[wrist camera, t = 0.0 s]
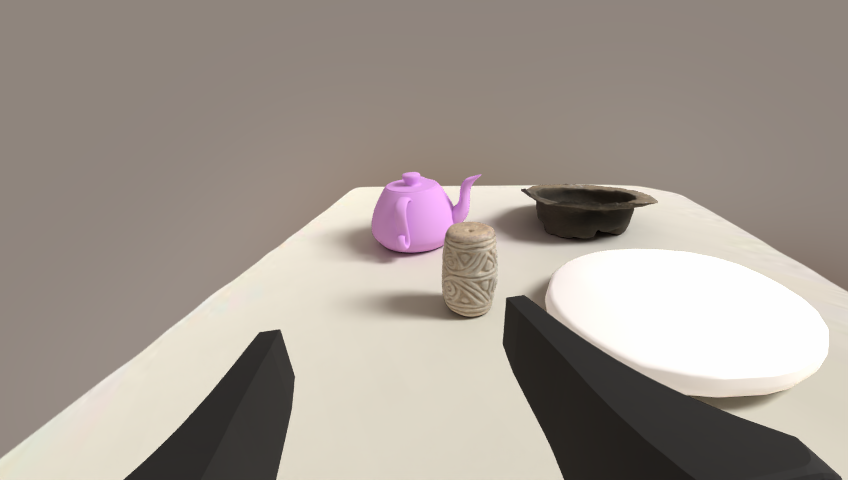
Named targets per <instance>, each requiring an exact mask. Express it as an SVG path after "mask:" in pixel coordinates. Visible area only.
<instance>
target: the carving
mask: <svg viewBox="0 0 848 480" xmlns="http://www.w3.org/2000/svg"><path fill="white" fill-rule="evenodd" d="M497 266H498V264H497V251H496V235H495V231H494V229H493V228H492V227H490V226H488V225H486V224H482V223H479V222H461V223H456V224H453V225H451V226H450V227H449V228H448V230H447V232H446V233H445V239H444V248H443V265H442V289H443V290H442V292H443V297H444V300H445V302H446V304H447V306H448V307H449V308H450V309H451V310H452V311H454V312H456V313H458V314H460V315H463V316H470V317H473V316H480V315H483V314H485V313H487V312H488V311H489V310H490V308H491V305H492V300H493V297H494V290H495V288H496V284H497V271H498V270H497Z"/></svg>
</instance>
